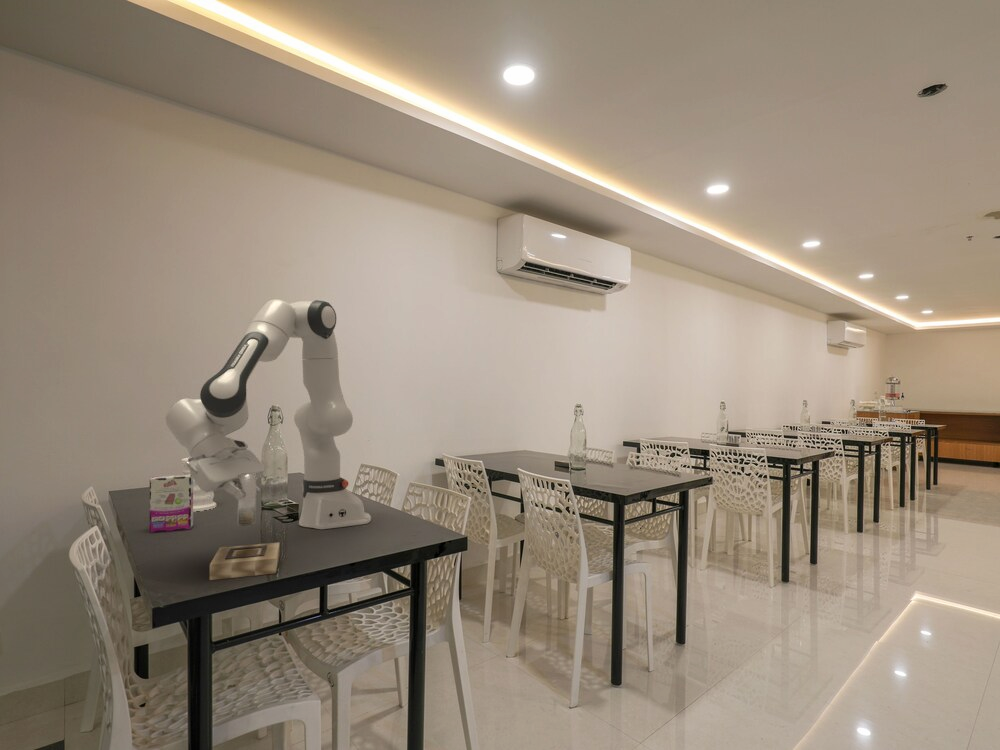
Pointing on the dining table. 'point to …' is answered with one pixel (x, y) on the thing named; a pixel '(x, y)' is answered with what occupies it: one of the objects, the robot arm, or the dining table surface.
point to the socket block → (245, 561)
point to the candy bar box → (171, 503)
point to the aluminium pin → (247, 499)
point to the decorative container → (199, 493)
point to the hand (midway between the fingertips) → (249, 495)
